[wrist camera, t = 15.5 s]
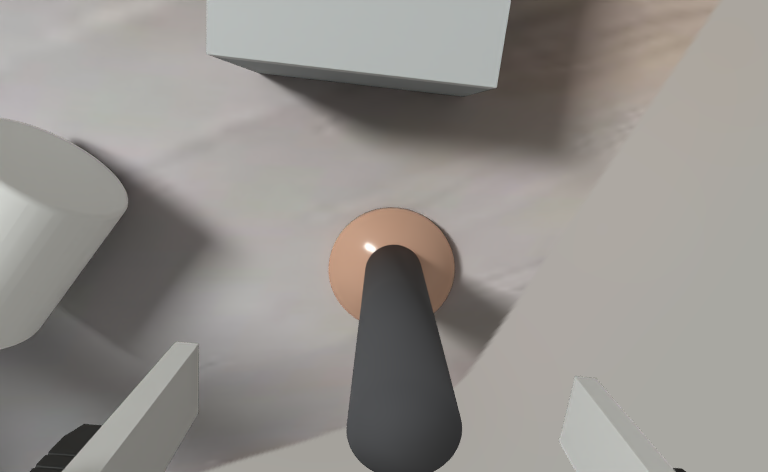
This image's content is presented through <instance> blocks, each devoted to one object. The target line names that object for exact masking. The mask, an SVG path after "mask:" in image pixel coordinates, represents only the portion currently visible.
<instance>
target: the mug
mask: <svg viewBox="0 0 768 472" xmlns="http://www.w3.org/2000/svg"><path fill="white" fill-rule="evenodd" d="M127 206H128V196H127V193H126V190H125V188H124V186H123V185H122V183H121V182H120V180H119V179H118V178H117V177H116V176H115V175H114V173H113V172H112V171H111V170H110V169H108V168H107V167H106V166H105V165H104V164H103V163H101V162H100V161H99V160H98V159H96V158H95V157H94V156H92V155H91V154H89V153H88V152H86V151H85V150H83V149H82V148H80V147H78V146H76V145H75V144H73V143H71V142H69V141H67V140H65V139H63V138H61V137H59V136H57V135H55V134H53V133H50V132H48V131H46V130H43V129H40V128H38V127H35V126H32V125H29V124H26V123H22V122H19V121H14V120H10V119H5V118H0V349H5V348H8V347H11V346H14V345H17V344H19V343H21V342H23V341H25V340H27V339H28V338H30V337H31V336H33V335H34V334H35V333H36V332H37V331H38V330H39V329H40V328H41V326H42V325H43V324H44V322H45V321H46V319H47V318H48V317H49V315H50V314H51V313H52V311H53V310H54V308H55V307H56V306H57V304H58V303H59V302H60V300H61V299H62V297H63V296H64V295H65V293H66V292H67V291H68V289H69V288H70V287H71V285H72V284H73V282H74V281H75V280H76V278H77V277H78V276H79V274H80V273H81V271H82V270H83V269H84V267H85V266H86V265H87V263H88V262H89V260H90V259H91V258H92V256H93V255H94V254H95V252H96V251H97V249H98V248H99V247H100V245H101V244H102V243H103V241H104V240H105V238H106V237H107V236H108V234H109V233H110V232H111V230H112V229H113V227H114V226H115V225H116V223H117V222H118V221H119V219H120V218H121V217H122V215H123V214H124V212H125V211H126V209H127Z"/></svg>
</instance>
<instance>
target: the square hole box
mask: <svg viewBox="0 0 768 472" xmlns="http://www.w3.org/2000/svg"><path fill="white" fill-rule="evenodd" d="M510 3H511V0H207V26H206V54H208V55H210V56H213V57H216V58H219V59H221V60H224V61H227V62H230V63H232V64H235V65H238V66H241V67H243V68H246V69H249V70H252V71H254V72H257V73H262V74H271V75H280V76H288V77H297V78H306V79H314V80H323V81H332V82H340V83H349V84H358V85H366V86H375V87H384V88H392V89H401V90H410V91H418V92H427V93H436V94H444V95H453V96H462V97H464V96H468V95H472V94H475V93H479V92H483V91H486V90H490V89H494V88H497V82H498V76H499V70H500V64H501V58H502V52H503V46H504V40H505V34H506V28H507V22H508V16H509V10H510Z"/></svg>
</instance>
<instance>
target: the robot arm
mask: <svg viewBox="0 0 768 472" xmlns="http://www.w3.org/2000/svg"><path fill="white" fill-rule="evenodd" d="M198 401H199V344H197V343H185V342H175V343H174V344H173V345H172V347H171V348H170V349H169V350H168V351H167V352H166V353H165V355H164V356H163V357H162V358H161V359H160V360H159V361H158V363H157V364H156V365H155V366H154V367H153V368H152V369H151V371H150V372H149V373H148V374H147V375H146V376H145V377H144V379H143V380H142V381H141V382H140V383H139V384H138V385H137V387H136V388H135V389H134V390H133V391H132V392H131V393H130V395H129V396H128V397H127V398H126V399H125V400H124V401H123V403H122V404H121V405H120V406H119V407H118V408H117V409H116V411H115V412H114V413H113V414H112V415H111V416H110V417H109V419H108V420H107V421H106V422H105V423H104V424H103V425H89V424H83V425H82V426H80V427H78V428H77V429H75V430H74V431H72V432H70V433H69V434H67V435H65V436H64V437H63V438H62V439H61V440H60V441H59V442H58V443H57V444H56V445H55V446H54V447H53V448H52V449H51V450H50V451H49V453H48V455H45V456H44V457H43V458H42V459H41V460H40V461H39V462H38V463H37V465H36V467H35V468H33V469H32V470H31V471H30V472H164V471H165V470H166V468H167V466H168V464H169V463H170V461H171V459H172V458H173V456H174V454H175V453H176V451H177V449H178V448H179V446H180V444H181V442H182V441H183V439H184V437H185V436H186V434H187V432H188V431H189V429H190V427H191V425H192V424H193V422H194V420H195V419H196V417H197V415H198ZM559 443H560V445H561V446H562V448H563V450H564V452H565V454H566V455H567V457H568V459H569V461H570V462H571V464H572V466H573V467H574V469H575V471H576V472H686V471H684V470H683V469H678V468H672V467H671V466H670V465H669V463H668V462H667V461H666V460H665V458H663V456H662V455H661V454H660V453H659V451H658V450H657V449H656V448H655V447H654V446H653V445H652V443H651V442H650V441H649V440H648V438H647V437H646V436H645V435H644V434H643V433H642V431H641V430H640V429H639V428H638V427H637V426H636V424H635V423H634V422H633V421H632V420H631V419H630V417H629V416H628V415H627V414H626V413H625V411H624V410H623V409H622V408H621V407H620V406H619V404H618V403H617V402H616V401H615V400H614V398H613V397H612V396H611V395H610V394H609V393H608V391H607V390H606V389H605V388H604V387H603V385H602V384H601V383H600V382H599V381H598V380H597V379H596V378H590V377H579V376H575V379H574V383H573V387H572V391H571V395H570V399H569V404H568V408H567V412H566V416H565V419H564V424H563V427H562V432H561V436H560V440H559Z"/></svg>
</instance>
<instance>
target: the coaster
mask: <svg viewBox="0 0 768 472" xmlns="http://www.w3.org/2000/svg"><path fill="white" fill-rule="evenodd" d="M386 245H401V246H404V247H406V248H408V249H410V250H411V251H413V252H414V253H415V254H416V256H417V257H418V259H419V261H420V263H421V267H422V270H423V274H424V278H425V282H426V286H427V290H428V294H429V297H430V301H431V305H432V309H433V313H435V312H436V311H437V310H438V309H439V308H440V307H441V305H442V304H443V303H444V301H445V300H446V298H447V296H448V294H449V293H450V290H451V287H452V284H453V280H454V273H455V265H454V257H453V253H452V250H451V247H450V245H449V243H448V241H447V239H446V237H445V236H444V234H443V233H442V231H441V230H440V229H439V228H438V227H437V226H436V225H435V224H434V223H433V222H432V221H431V220H429V219H428V218H426V217H425V216H423V215H421V214H419V213H417V212H415V211H412V210H408V209H404V208H395V207H388V208H380V209H375V210H372V211H369V212H366V213H364V214H362V215H360V216H359V217H357V218H356V219H354V220H353V221H351V222H350V223H349V224H348V225H347V226H346V227H345V228H344V229H343V231H342V232H341V233H340V235H339V236H338V238H337V239H336V242H335V244H334V246H333V249H332V252H331V255H330V260H329V279H330V283H331V287H332V290H333V292H334V294H335V296H336V298H337V300H338V301H339V303H340V304H341V305H342V307H343V308H344V309H345V310H346V311H347V312H348V313H349V314H351V315H352V316H353V317H355V318H356V319H358V320H359V318H360V310H361V301H362V293H363V284H364V276H365V268H366V264H367V261H368V259H369V257H370V256H371V255H372V254H373V253H374V252H375V251H376V250H377V249H379V248H381V247H383V246H386Z"/></svg>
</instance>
